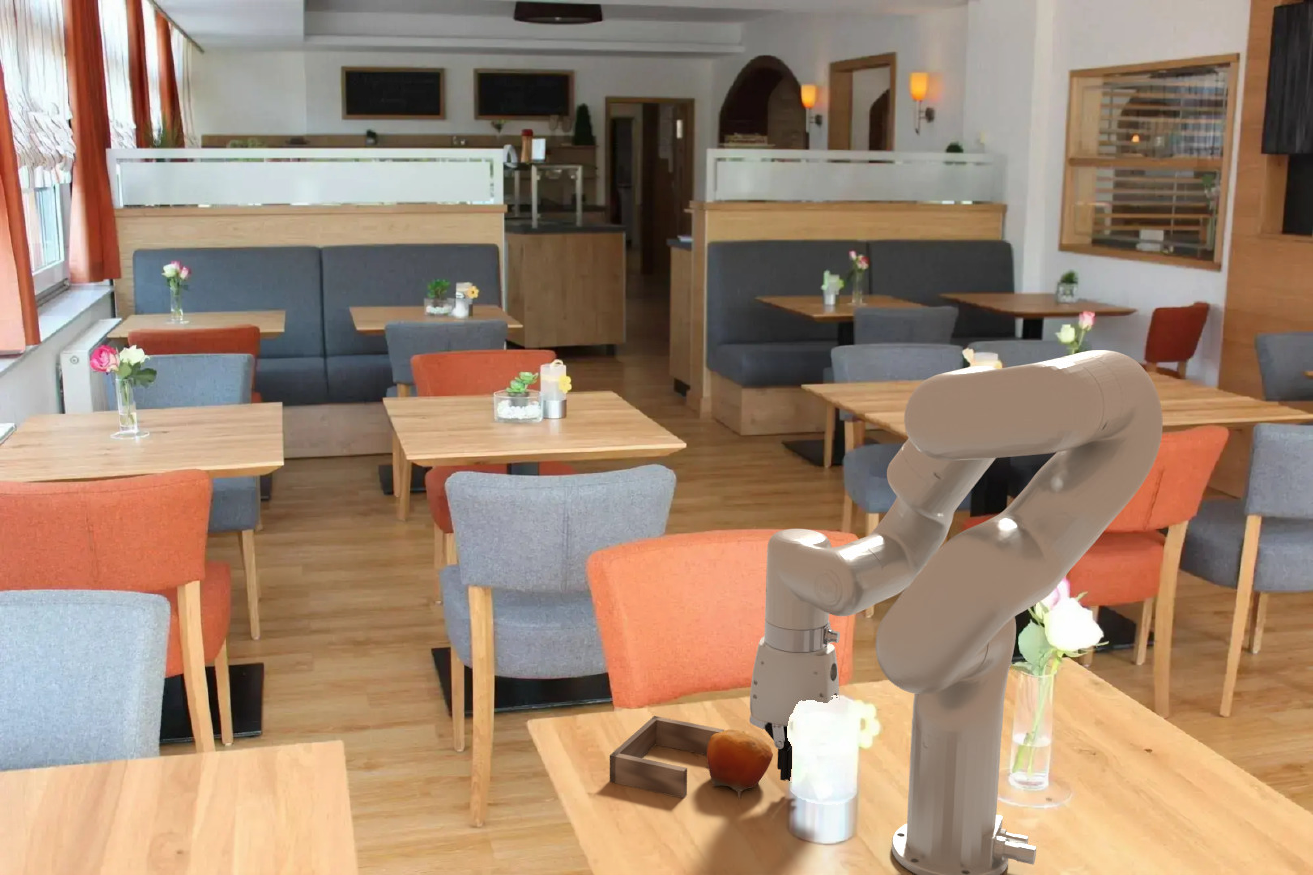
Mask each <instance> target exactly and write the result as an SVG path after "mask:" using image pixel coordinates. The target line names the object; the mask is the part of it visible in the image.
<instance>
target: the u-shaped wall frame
mask: <svg viewBox="0 0 1313 875" xmlns="http://www.w3.org/2000/svg"><path fill="white" fill-rule="evenodd" d="M723 731H725V729H723V728H717V727H712V726H709V725H708V726H706V725H702V724H698V723H693V722H687V721H683V720H677V719H673V718H672V719H671V718H666V717H661V716H657V715H654V716H652V717H651V718H650V719H649V720H648V721H647V722H645V724H644V725H642V726H641V727H640V728H639V729H637V730H636V731H635V732H634V733H633V734H632V735H631V736H630V737H628V738H627V739H626V740H625V741H624V742H622V744H621V745H619V746H618V747H617V748H616V749H615V750H614V751H613V752H612V753H611V754H610V755H609V782H610V783H615V784H619V785H623V786H627V787H628V786H629V787H633V788H635V789H636V788H637V789H641V790H645V791H646V790H647V791H650V792H655V793H658V794H663V795H669V796H673V797H678V798H681V799H685V797H686V796H687V795H688V767H685V766H679V765H676V764H675V765H674V764H671V763H667V762H661V761H656V760H651V759H647V758H644V757H645V756H646V755H647V754H648V753H649V752H651V751H652V749H654V748H655V747H656V746H662V747H666V748H671V749H676V750H679V751H687V752H691V753H696V754H701V755H703V756H707V748H708V743H709V741H710V738H711V736H712V735H714V734H715V733H720V732H723Z"/></svg>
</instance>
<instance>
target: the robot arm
mask: <svg viewBox="0 0 1313 875" xmlns="http://www.w3.org/2000/svg"><path fill="white" fill-rule="evenodd" d="M906 402H907V403H906V405H905V409H904V419H903V423H904V429H905V432H906V435H907V437H908V438H907V439H906V441H905V442H904V443H903V445H902V446H901V448H899V450H898V452H897V453H896V454H895V456H894V457H893V458H892V459H891V461H890V462H889V463H888V466H887V470H886V478H887V482H888V485H889V487H890V489H891V490H892V491H893V493H894V494H895V495H896V498H895V500H894V502H893V504H892V505H891V506H890V508H889V510H888V511H887V513H886V514H885V515H884V516H883V517H882V519H881V520H880V522H879V523H878V524H877V526H876V527H875V528H874V529H873V531H871V533H869V535H867V536H865V537H861V538H859V539H857V540H856V539H855V540H853V541H850V542H849V543H846V544H842V545H839V546H834V547H833V546H832V544H831V541H830V539H829V537H828V536H826V535H825V534H824V533H822V532H819V531H816V530H813V529H806V528H788V529H783V530H779V531H776V532H775V533H773V534H772V535H771V537H770V538H769V539H768V542H767V549H766V551H767V552H766V577H765V602H764V603H765V606H764V611H765V612H764V613H765V614H764V636H762V637H761V638H760V640H759V642H758V646H757V649H756V653H755V658H754V664H753V669H752V676H751V684H750V692H749V693H750V695H749V711H750V715H749V723H750V724H751V725H752V726H755V727H757V728H760V729H761V730H765V732H766V733H767V734H768V736H769V737H770V738H771V739H772V740H773V743H774V744H773V745H774V746H775V748H776V749H777V765H776V766H777V767H776V768H777V770H779V771H780V776H779V777H780V778H779V779H780V781H788V782H789V781H790V777H791V769H792V746H791V744H790V742H789V741H788V738H787V726H788V721H789V717H790V715H791V714H792V713H793V710H794V708H795V706H796V704H798V702H799V701H801V700H802V701H806V700H815V701H817V702H823V703H828V702H829V701H830V700H832V699H833V697H831V696H833V695H836V696H837V695H839V696H840V683H839V682H840V681H839V679H840V678H839V668H838V658H837V653H836V647H835V645H834V644H832V643H836V644H838V643H839V642H840V638H841V632H840V631H838V630H834V629H832V626H831V621H830V615H832V616H835V617H849V616H853V615H856V614H857V613H861V612H862V611H864V610H867V609H869V608H871V607H873V606H875V605H877V604H878V603H881V602H883V601H886V600H888V599H890V598H892V597H895V596H896V595H898V594H900V593H901V594H900V595H899V596H898V598H897V599H896V600H895V601H894V603H893V604H892V605H891V606H890V607H889V609H888V610H887V611H886V613H885V615H884V616H883V618H882V620H881V621H880V623H879V626H878V628H877V632H876V637H875V654H876V658H877V659H876V660H877V662H878V665H879V667H880V670H881V672H882V673H883V675H884V676H885V677H886V678H887V679H888V681H889V682H891V684H893V685H894V686H895V687H896V688H899V689H901V690H903V691H905V692H907V693H912V694H913V703H912V718H911V732H910V734H911V735H910V753H909V754H910V755H909V774H908V777H909V778H908V795H907V818H906V819H907V820H906V823H905V824H903V825H902V826H900V827H899V828H898V829H897V830H896V831H895V832H894V834H893V836H892V839H891V852H892V854H893V856H894V858H895V860H896V861H897V862H898V863H899V864H900V865H901V866H903V867H904V868H905V869H906V870H908V871H909V872H911V873H913V874H915V875H1002V874H1003V873H1004V872H1005V870H1006V869H1007V867H1008V864H1009V860H1014V861H1016V862H1018V863H1024V864H1029V865H1034V864H1035V861H1036V856H1037V846H1034V845H1031V844H1029V835H1025V834H1021V833H1013V832H1007V831H1008V830H1007V829H1006V828H1003V816H1002V815H998V814H997V813H998V812H997V809H998V793H999V778H1000V764H1001V761H1000V760H1001V748H1002V747H1001V746H1002V732H1003V722H1004V711H1005V710H1004V708H1005V707H1004V706H1005V698H1006V690H1007V689H1006V688H1007V682H1008V678H1009V674H1010V673H1009V672H1010V667H1011V664H1012V659H1013V655H1014V650H1015V645H1016V640H1017V638H1016V634H1017V624H1016V622H1017V621H1016V616H1017V615H1019V614H1021V613H1024V612H1025V611H1026V610H1028V609H1030V608H1032V607H1033V606H1035V605H1036V604H1038V603H1040V602H1042V601H1043V600H1044V599H1046V598H1047V597H1048V596H1050V595H1051V594H1052V593H1053V592H1054V591H1055V590H1056V588H1057V587H1058V586H1059V584H1060V583H1061V582H1062V581H1063V579H1065V577H1066V576H1067V575H1068V573H1069V572H1070V571H1071V570H1072V569H1073V567H1074V566H1075V565H1076V564H1077V563H1078V562H1079V561H1080V560H1081V558H1082V557H1083V556H1084V555H1085V554H1086V553H1087V552H1088V551H1089V549H1090V548H1092V546H1093V545H1094V544H1095V543H1096V541H1097V540H1098V539H1099V538H1100V536H1101V535H1102V534H1103V533H1104V531H1105V530H1106V529H1107V528H1108V527H1109V526H1110V525H1111V523H1112V522H1113V521H1114V520H1116V519H1115V518H1117V516H1118V515H1120V514H1121V512H1122V511H1123V510H1124V509H1125V508H1126V506H1127V505H1129V504H1128V503H1129V502H1130V501H1131V500H1132V499H1133V497H1135V496H1136V494H1137V492H1138V491H1139V490H1140V488H1142V485H1143V483H1144V482H1145V480H1146V479H1147V477H1149V474H1150V472H1151V470H1152V468H1153V466H1154V464H1155V462H1156V460H1157V457H1158V454H1159V450H1160V447H1161V443H1162V437H1163V420H1164V419H1163V411H1162V410H1163V409H1162V404H1161V400H1160V396H1159V394H1158V391H1157V388H1156V385H1155V384H1154V381H1153V380H1152V378H1151V377H1150V375H1149V373H1148V372H1147V371H1146V370H1145V369H1144V367H1143V366H1142V365H1141V364H1140V363H1139V362H1138V361H1137V360H1135V358H1133V357H1132V358H1131V356H1129V355H1126V354H1123V353H1121V352H1118V351H1113V350H1105V349H1103V350H1102V349H1100V350H1098V349H1097V350H1096V349H1095V350H1087V351H1082V352H1078V353H1073V354H1069V355H1065V356H1061V357H1057V358H1052V359H1048V360H1044V361H1038V362H1034V363H1027V364H1022V365H1021V364H1020V365H1015V366H1009V367H1003V368H1002V367H1001V368H997V367H995V366H990V365H989V366H988V365H973V366H969V367H965V368H964V367H963V368H960V369H955V370H951V371H948V372H943V373H939V374H936V375H933V376H931V377H928V378H927V379H925V380H924V381H923V382H921V383H920V384H919V385H918V386H917V387H916V388H915V389H914V390H913V392H912V393H911V395H910V396H909V398H908V400H907V401H906ZM1054 453H1055V454H1054ZM1046 454H1054V455H1052V457H1050V459H1048V461H1047V462H1045V464H1044V465H1042V466H1041V468H1040V469H1039V470H1038V471H1037V472H1036V473H1035V475H1034V476H1033V477H1032V478H1031V480H1030V481H1029V482H1028V484H1027V485H1026V486H1025V487H1024V488H1023V490H1022V491H1020V493H1019V494H1018V495H1017V496H1016V497H1015V498H1014V499H1013V501H1012V502H1011V503H1010V504H1009V505H1008V506H1007V507H1006V508H1005V509H1004V510H1003V511H1002V512H1000V513H999V514H997V515H995V516H994V517H991V518H989V519H987V520H986V521H984V522H981V523H978V524H976V525H973V526H972V527H969V528H966V529H965V530H962V531H961V532H958V534H956V535H954V536H953V537H951V538H950V539H948V541H946V542H945V543H944V541H945V540H946V538H947V536H948V533H949V531H950V528H951V525H952V522H953V521H954V520H953V519H954V514H955V511H956V510H957V508H958V507H959V506H960V504H961V503H962V502H963V501H964V499H965V498H966V497H967V496H968V495H969V493H970V492H971V490H972V489H973V488H974V487H975V485H976V484H977V483H978V482H979V480H980V479H981V478H982V477H983V475H984V474H985V473H986V471H987V470H988V469H989V468H990V466H991V465H992V464H993V462H994V461H995V460H996V459H998V458H1008V457H1009V458H1010V457H1023V456H1032V455H1033V456H1034V455H1036V456H1037V455H1046ZM836 698H838V697H836Z"/></svg>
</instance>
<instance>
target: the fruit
mask: <svg viewBox="0 0 1313 875" xmlns="http://www.w3.org/2000/svg"><path fill="white" fill-rule="evenodd" d="M772 751H773V750H772V748H771V746H770V745H769V744H768V743H767V742H766V741H764V739H762V738H761V737H758V736H755V735H753V734H749V733H746V732H745V731H740V730H738V729H737V730H736V729H724V731H723V732H720V733H715V734H714V735H712V736H711V738H710V741H709V743H708V748H707V755H706V757H707V758H706V759H707V760H706V761H707V769H708V771H709V774H710V775H709V776H710V779H711V782H712V785H713V788H715V787H719V786H726V787H730V788H731V789H733V790H734V791H735V792H737V793H738V798H740V799H741V798H742V797H741V796H742V795H741V794H742V791H744V790H747V789H750V788H754V787H755V786H757V785H758V783H759V782H760V781H761V779H762V778H763V777H764V775H765V773H766V772H767V771H768V768H769V767H770V765H771V762H772V760H773V757H774V756H773V755H774V754H773V752H772Z"/></svg>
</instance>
